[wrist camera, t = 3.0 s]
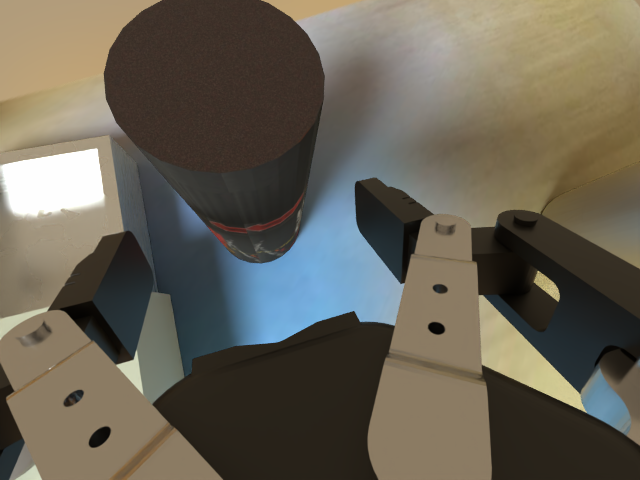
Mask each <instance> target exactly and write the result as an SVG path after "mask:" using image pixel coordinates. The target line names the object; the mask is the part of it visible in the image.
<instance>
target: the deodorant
mask: <svg viewBox="0 0 640 480" xmlns="http://www.w3.org/2000/svg"><path fill="white" fill-rule="evenodd" d="M324 79H325V76H324V72H323V68H322V64H321V60H320V56H319V53H318V52H317V50H316V48H315V47H314V45H313V43H312V41H311V40H310V38H309V36H308V35H307V33H306V32H305V31H304V30H303V29H302V28H301V27H300V26H299V25H298V24H297V23H296V22H295V21H294V20H293V19H292V18H291V17H290V16H288V15H286V14H285V13H283V12H282V11H280V10H278V9H277V8H275V7H274V6H272V5H271V4H269V3H267V2H264V1H261V0H162V1H160V2H158V3H156V4H154V5H153V6H151V7H149V8H147V9H145V10H143V11H142V12H141V13H139V14H138V15H137V16H136V17H135V18H134V19H133V20H132V21H130V22H129V23H128V24H127V25H126V26H125V27H124V28H123V29H122V31H121V32H120V34H119V35H118V37H117V39H116V40H115V42H114V43H113V45H112V47H111V48H110V50H109V54H108V59H107V62H106V67H105V71H104V82H105V94H106V100H107V102H108V105H109V107H110V109H111V112H112V114H113V116H114V118H115V121H116V123H117V124H118V125H119V126H120V128H121V129H122V130H123V131H124V132H125V133H126V134H127V136H128V137H129V138H130V139H131V140H132V141H133V142H134V144H135V145H136V146H137V147H138V148H139V149H140V150H141V152H142V153H143V154H144V155H145V156H146V157H147V158H148V160H149V161H150V162H151V163H152V164H153V165H154V166H155V167H156V169H157V170H158V171H159V172H160V173H161V174H162V175H163V177H164V178H165V179H166V180H167V181H168V182H169V183H170V185H171V186H172V187H173V188H174V189H175V190H176V191H177V192H178V194H179V195H180V196H181V197H182V198H183V199H184V200H185V202H186V203H187V204H188V205H189V206H190V207H191V208H192V210H193V211H194V212H195V213H196V214H197V215H198V216H199V217H200V219H201V220H202V221H203V222H204V223H205V224H206V225H207V227H208V228H209V229H210V230H211V231H212V232H213V233H214V235H215V236H216V237H217V238H218V239H219V240H220V241H221V242H222V244H223V245H224V246H225V247H226V248H227V249H228V250H229V252H230V253H231V254H233V255H234V256H236V257H237V258H239V259H241V260H244V261H247V262H250V263H265V262H270V261H273V260H275V259H277V258H279V257H281V256H283V255H284V254H285V253H286V252H287V251H289V250H290V248H291V247H292V245H293V244H294V242H295V240H296V238H297V235H298V232H299V226H300V221H301V216H302V210H303V205H304V200H305V195H306V189H307V184H308V179H309V173H310V168H311V163H312V158H313V152H314V147H315V142H316V136H317V131H318V126H319V121H320V115H321V110H322V105H323V99H324Z"/></svg>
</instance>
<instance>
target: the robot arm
mask: <svg viewBox="0 0 640 480" xmlns="http://www.w3.org/2000/svg"><path fill="white" fill-rule="evenodd" d="M355 204H356V221H357V225H358V228H359V231H360V233H361V234H362V235H363V237H364V238H365V239H366V240H367V242H368V243H369V244H370V245H371V247H372V248H373V249H374V251H375V252H376V253H377V254H378V256H379V257H380V258H381V259H382V261H383V262H384V263H385V264H386V266H387V267H388V268H389V270H390V271H391V272H392V273H393V275H394V276H395V277H396V278H397V280H398V281H399V282H400V283H401V284H403V283H405V285H404V289H403V294H402V298H401V302H400V307H399V311H398V315H397V320H396V324H395V326H393V325H389V324H385V323H378V322H360V321H359V319H358V317H357V316H356V314H355V312H354V311H353V312H349V313H346V314H342V315H339V316H336V317H332V318H329V319H326V320H322V321H319V322H316V323H314V324H313V325H311V326H309V327H307V328H305V329H303V330H301V331H300V332H298V333H296V334H294V335H292V336H290V337H288V338H287V339H285V340H283V341H281V342H277V343H268V344H256V345H244V346H234V347H231V348H228V349H224V350H221V351H218V352H214V353H211V354H207V355H204V356H201V357H197V358H194V359H193V360H192V373H191V374H190V375H188V376H186V377H184V378H183V379H181V380H180V381H178V382H177V383H175V384H174V385H173V386H171V387H170V388H169V389H167V390H166V391H165V392H164V393H163V394H162V395H161V396H160V397H158V398H157V399H156V400H155V401H154V403H153V404H151V403H150V402H149V401H148V400H147V398H146V397H145V396H144V395H143V394H142V393H141V392H140V391H139V390H138V389H137V388H136V386H135V385H134V384H133V383H132V382H131V381H130V380H129V379H128V378H127V377H126V376H125V374H124V373H123V372H122V371H121V370H120V369H119V368H118V367H117V366H116V365H118V364H121V363H125V362H128V361H132V360H134V357H135V353H136V350H137V346H138V342H139V338H140V334H141V331H142V327H143V323H144V319H145V315H146V312H147V308H148V304H149V300H150V297H151V293H152V289H153V285H154V276H153V272H152V269H151V267H150V265H149V263H148V261H147V259H146V257H145V255H144V253H143V251H142V249H141V247H140V245H139V243H138V241H137V240H136V238H135V236H134V234H133V233H132V232H131V231H124V232H119V233H115V234H110V235H105V236H103V237H102V239H101V240H100V242H99V243H98V245H97V247H96V248H95V250H94V252H93V253H91V254H89V255H88V256H87V257H86V258H84V259H83V260H82V261H81V262H80V263H78V264H77V265H76V267H75V269H74V270H73V272H72V273H71V275H70V276H71V277H69V278H68V279H67V281H66V282H65V286H63V287H62V289H61V290H60V292H59V293H58V295H57V296H56V298H55V300H54V301H53V303H52V304H51V306H50V307H49V309H48V310H47V312H43V313H40V314H37V315H35V316H33V317H30V318H28V319H26V320H25V321H23V322H21V323H20V324H18V325H17V326H15V327H14V328H12V329H11V330H10V331H8V332H7V333H6V334H5V335H4V336H3V337H2V338H1V340H0V480H9V479H10V477H11V474H12V472H13V470H14V467H15V465H16V463H17V460H18V458H19V456H20V453H21V451H22V449H23V446H24V444H25V443H26V445H27V448H28V450H29V452H30V454H31V457H32V459H33V461H34V463H35V465H36V468H37V470H38V472H39V474H40V476H41V479H42V480H640V161H639V162H637V163H635V164H632V165H630V166H628V167H625V168H623V169H621V170H618V171H616V172H613V173H611V174H608V175H606V176H604V177H601V178H599V179H596V180H594V181H592V182H589V183H587V184H585V185H582V186H580V187H578V188H575V189H573V190H571V191H568V192H566V193H564V194H561V195H560V196H558V197H556V198H554V199H553V200H552V201H551V202H550V203H549V204H548V205H547V206H546V208H545V209H544V211H543V213H542V215H541V214H538V213H535V212H531V211H525V210H510V211H505V212H502V213H501V214H499V215H498V218H497V222H496V226H495V227H482V228H471V226H470V224H469V223H468V222H467V221H466V220H464V219H463V218H460V217H457V216H454V215H448V214H437V215H434V214H433V213H431V212H430V211H429V210H427V209H426V208H425V207H423V206H422V205H421V204H419V203H418V202H416V201H415V200H414V199H413V198H410V196H409V195H407V194H406V193H405V192H403V191H402V190H399V189H396V188H393V187H387V186H386V185H385V184H384V183H382V182H381V181H380V180H378V179H377V178H370V179H366V180H361V181H357V182H356V183H355ZM537 271H540V272H541V273H542V274H544V275H545V276H546V277H548V278H549V279H550V280H552V281H553V282H554V283H555V285H556V286H557V288H558V290H559V293H560V300H559V302H557V301H556V300H555V299H554V298H552V297H551V296H550V295H549V294H547V293H546V292H545V291H544V290H542V289H541V288H540V287H539V286H537V285H536V284H535V283H534V280H535V277H536V274H537ZM478 295H484V297H485V298H486V299H487V300H488V301H489V302H490V303H491V304H492V305H493V306H494V307H495V308H496V309H497V310H498V311H499V312H500V313H501V314H502V315H503V316H504V317H505V318H506V319H507V320H508V321H509V322H510V323H511V324H512V325H513V326H514V327H515V328H516V329H517V330H518V331H519V332H520V333H521V334H522V335H523V336H524V337H525V338H526V339H527V340H528V341H529V342H530V343H531V344H532V345H533V346H534V347H535V348H536V350H537V351H538V352H539V353H540V354H541V355H542V356H543V357H544V358H545V359H546V360H547V361H548V362H549V363H550V364H551V365H552V366H553V367H554V368H555V369H556V370H557V371H558V372H559V373H560V374H561V375H562V376H563V377H564V378H565V379H566V380H567V381H568V382H569V383H570V384H571V385H572V386H573V387H574V388H575V389H576V390H577V391H578V392H579V393H580V394H581V401H582V404H583V406H584V408H585V410H586V411H587V413H586V412H583V411H581V410H579V409H577V408H575V407H573V406H570V405H568V404H566V403H564V402H562V401H559V400H557V399H555V398H553V397H551V396H549V395H546V394H544V393H542V392H540V391H538V390H536V389H533V388H531V387H529V386H527V385H525V384H522V383H520V382H518V381H516V380H514V379H512V378H509V377H507V376H505V375H503V374H501V373H499V372H496V371H494V370H492V369H490V368H488V367H486V366H483V365H482V363H481V341H480V319H479V297H478Z"/></svg>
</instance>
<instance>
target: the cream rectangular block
mask: <svg viewBox="0 0 640 480" xmlns="http://www.w3.org/2000/svg"><path fill="white" fill-rule="evenodd" d="M48 309H49V307H47V308H43V309H38V310H34V311H30V312H26V313H22V314H18V315H14V316H10V317H6V318H2V319H0V340H1V338H2V337H3V336H4V335H5V334H6V333H7V332H8V331H10V330H11V329H12V328H14V327H15V326H17V325H18V324H20V323H21V322H23V321H25V320H26V319H28V318H30V317H33V316H35V315H37V314H40V313H43V312H47V310H48ZM116 366H117V367H118V368H119V369H120V370H121V371H122V372H123V373H124V374H125V376H126V377H127V378H128V379H129V380H130V381H131V382H132V383H133V384H134V385H135V386H136V388H137V389H138V390H139V391H140V392H141V393H142V394H143V395H144V396H145V397H146V398H147V400H148V401H149V402H150V403H151V404H153V403H154V401H155V400H156V399H157V398H158V397H160V396H161V395H162V394H163V393H164V392H165V391H166V390H167V389H169V388H170V387H171V386H173V385H174V384H175V383H177V382H178V381H180V380H181V379H183V378H184V371H183V366H182V360H181V354H180V349H179V343H178V337H177V331H176V326H175V320H174V314H173V309H172V303H171V297H170V294H163V293H157V292H152V293H151V297H150V300H149V304H148V308H147V312H146V315H145V319H144V323H143V327H142V331H141V334H140V338H139V342H138V346H137V350H136V353H135V357H134V360H132V361H128V362H125V363H121V364H118V365H116ZM9 480H42V479H41V476H40V474H39V472H38V470H37V468H36V465H35V463H34V461H33V459H32V457H31V454H30V452H29V450H28V448H27V445H26V443H25V444H24V446H23V449H22V451H21V453H20V456H19V458H18V460H17V463H16V465H15V467H14V470H13V472H12V474H11V477H10V479H9Z"/></svg>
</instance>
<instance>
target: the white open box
mask: <svg viewBox="0 0 640 480" xmlns="http://www.w3.org/2000/svg"><path fill="white" fill-rule="evenodd" d="M124 231H131V232H132V233H133V234H134V236H135V238H136V240H137V241H138V243H139V245H140V247H141V249H142V251H143V253H144V255H145V257H146V259H147V261H148V263H149V265H150V267H151V269H152V272H153V276H154V285H153V289H152V292H157V293H159V292H158V286H157V280H156V274H155V268H154V262H153V256H152V250H151V244H150V238H149V232H148V226H147V220H146V215H145V209H144V203H143V197H142V191H141V185H140V179H139V173H138V167H137V163H136V162H135V161H134V160H133V159H132V158H131V157H130V156H129V155H128V154H127V153H126V152H125V151H124V150H123V149H122V148H121V147H120V146H119V145H118V144H117V142H116V141H115V140H114V139H113V138H112V137H111V136H110V135H106V136H100V137H94V138H88V139H82V140H76V141H70V142H64V143H58V144H51V145H45V146H39V147H33V148H27V149H21V150H15V151H9V152H3V153H0V319H2V318H6V317H10V316H14V315H18V314H22V313H26V312H30V311H34V310H38V309H43V308H47V307H50V306H51V304H52V303H53V301H54V300H55V298H56V296H57V295H58V293H59V292H60V290H61V289H62V287H63V286H65V282H66V281H67V279H68V278H69V277H71V276H70V275H71V273H72V272H73V270H74V269H75V267H76V265H77V264H78V263H80V262H81V261H82V260H83V259H84V258H86V257H87V256H88V255H89V254H91V253H93V252H94V250H95V248H96V247H97V245H98V243H99V242H100V240H101V239H102V237H103V236H105V235H110V234H115V233H119V232H124Z"/></svg>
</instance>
